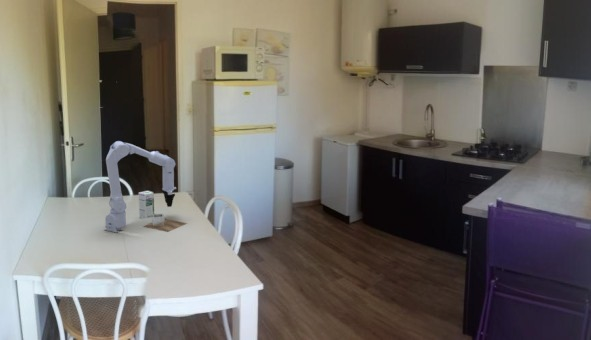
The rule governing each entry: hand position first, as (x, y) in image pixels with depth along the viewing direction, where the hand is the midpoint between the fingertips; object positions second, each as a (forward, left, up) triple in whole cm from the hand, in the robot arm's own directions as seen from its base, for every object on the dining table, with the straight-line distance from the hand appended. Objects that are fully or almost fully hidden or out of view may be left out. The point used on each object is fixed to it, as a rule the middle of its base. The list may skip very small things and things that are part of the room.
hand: (168, 204), depth 257 cm
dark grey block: (-11, -2, -8) cm, 14 cm away
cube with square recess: (-11, -2, -8) cm, 14 cm away
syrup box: (-1, +14, -10) cm, 17 cm away
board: (-9, -5, -9) cm, 14 cm away
